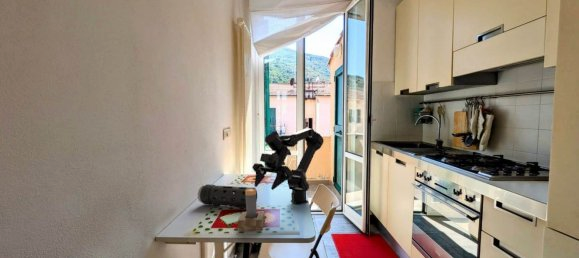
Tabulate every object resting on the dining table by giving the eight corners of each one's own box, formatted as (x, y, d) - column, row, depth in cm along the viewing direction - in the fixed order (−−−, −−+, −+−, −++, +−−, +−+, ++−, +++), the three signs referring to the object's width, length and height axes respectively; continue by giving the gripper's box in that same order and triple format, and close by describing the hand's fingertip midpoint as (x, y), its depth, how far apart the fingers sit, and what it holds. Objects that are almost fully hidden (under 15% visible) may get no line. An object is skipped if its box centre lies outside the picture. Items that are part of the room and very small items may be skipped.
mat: (239, 213, 116) (239, 212, 116) (248, 219, 109) (248, 218, 109) (219, 218, 111) (219, 217, 111) (227, 225, 104) (227, 223, 104)
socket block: (264, 220, 107) (264, 211, 106) (262, 230, 98) (261, 219, 97) (243, 221, 107) (242, 211, 107) (238, 231, 98) (237, 220, 98)
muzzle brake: (248, 213, 117) (247, 190, 116) (197, 208, 126) (195, 187, 126) (258, 205, 126) (257, 184, 125) (209, 201, 135) (208, 182, 135)
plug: (255, 222, 105) (253, 188, 104) (258, 226, 101) (257, 190, 101) (245, 225, 103) (243, 190, 102) (249, 228, 100) (247, 192, 99)
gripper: (254, 145, 117) (236, 174, 108) (287, 146, 106) (271, 179, 97) (266, 160, 123) (251, 188, 115) (299, 162, 112) (284, 195, 104)
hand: (263, 187), depth 108 cm, fingers open, 9 cm apart
